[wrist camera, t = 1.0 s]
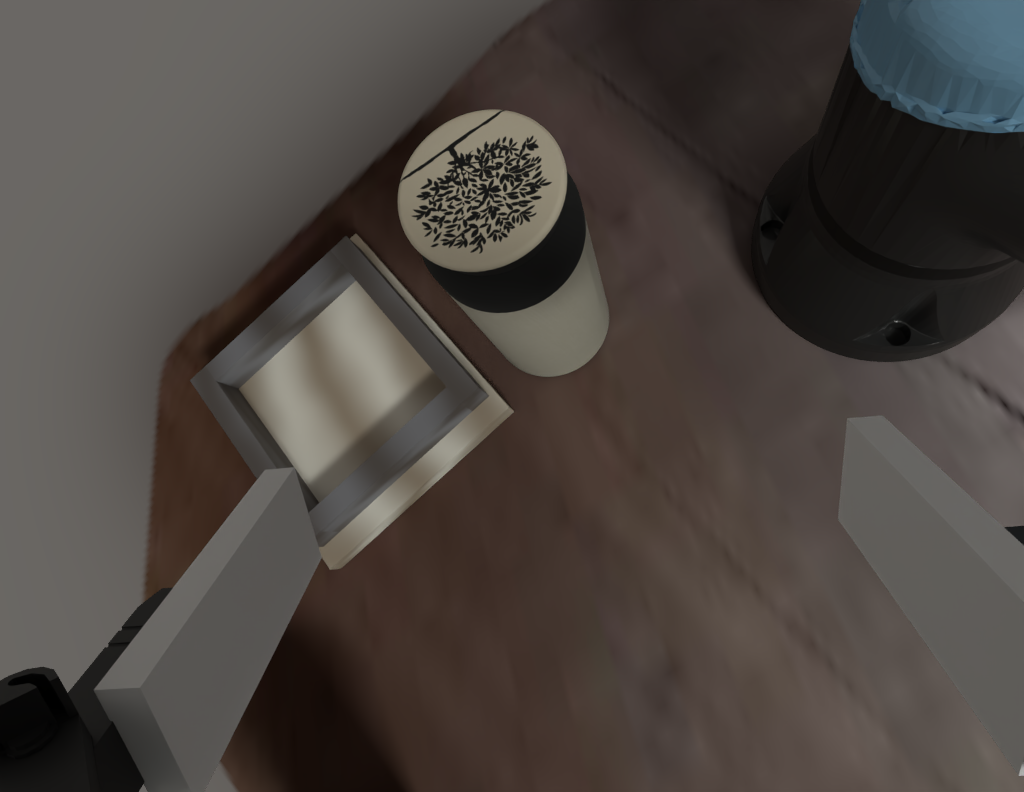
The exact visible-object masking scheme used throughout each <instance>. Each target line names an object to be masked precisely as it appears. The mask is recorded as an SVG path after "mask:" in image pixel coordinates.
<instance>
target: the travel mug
mask: <svg viewBox="0 0 1024 792" xmlns="http://www.w3.org/2000/svg"><path fill="white" fill-rule="evenodd" d="M398 212H399V218H400V221H401V225H402V227H403V230H404V232H405V234H406V236H407V238H408V239H409V241H410V242H411V244H412V245H413V246H414V247H415V248H416V250H417V251H418V252H420V253H421V254H422V257H423V260H424V262H425V264H426V266H427V268H428V270H429V271H430V273H431V274H432V276H433V277H434V278H435V279H436V280H437V281H438V283H439V284H440V285H441V286H442V287H443V288H444V289H445V290H446V292H447V293H448V294H449V295H450V296H451V297H452V298H453V299H454V300H455V302H456V303H457V304H458V305H459V306H460V307H461V308H462V309H463V310H464V312H465V313H466V314H467V315H468V316H469V317H470V318H471V319H472V321H473V322H474V323H475V324H476V325H477V326H478V327H479V328H480V329H481V331H482V332H483V333H484V334H485V335H486V336H487V337H488V338H489V340H490V341H491V342H492V343H493V344H494V345H495V346H496V347H497V348H498V350H499V351H500V352H501V353H502V354H503V355H504V356H505V357H506V358H507V360H508V361H509V362H510V363H512V364H513V365H514V366H515V367H517V368H518V369H520V370H522V371H524V372H526V373H529V374H532V375H536V376H544V377H552V376H559V375H564V374H567V373H570V372H572V371H574V370H576V369H578V368H580V367H581V366H583V365H584V364H586V363H587V362H588V361H589V360H590V359H591V358H592V357H593V356H594V355H595V354H596V353H597V351H598V350H599V349H600V347H601V345H602V344H603V342H604V339H605V337H606V334H607V330H608V325H609V309H608V304H607V300H606V296H605V293H604V289H603V285H602V281H601V277H600V273H599V269H598V265H597V261H596V258H595V254H594V250H593V246H592V242H591V238H590V234H589V230H588V226H587V223H586V219H585V215H584V211H583V207H582V203H581V199H580V196H579V192H578V190H577V187H576V185H575V183H574V181H573V179H572V178H571V176H570V175H569V174H568V172H567V171H566V165H565V161H564V157H563V155H562V152H561V150H560V148H559V146H558V144H557V142H556V141H555V139H554V138H553V137H552V136H551V134H550V133H549V132H548V131H547V130H546V129H545V128H544V127H543V126H541V125H540V124H539V123H537V122H536V121H534V120H532V119H531V118H529V117H526V116H524V115H522V114H519V113H516V112H511V111H506V110H481V111H475V112H471V113H467V114H464V115H461V116H459V117H456V118H454V119H452V120H450V121H448V122H446V123H445V124H443V125H442V126H440V127H438V128H437V129H436V130H435V131H433V132H432V133H431V134H430V135H429V136H427V137H426V138H425V139H424V140H423V141H422V143H421V144H420V145H419V146H418V147H417V149H416V150H415V151H414V153H413V154H412V156H411V157H410V159H409V161H408V163H407V165H406V167H405V169H404V171H403V174H402V177H401V180H400V185H399V190H398Z"/></svg>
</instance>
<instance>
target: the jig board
mask: <svg viewBox="0 0 1024 792" xmlns="http://www.w3.org/2000/svg"><path fill="white" fill-rule="evenodd" d="M190 381H191V383H192V384H193V385H194V387H195V388H196V390H197V391H198V393H199V394H200V396H201V397H202V399H203V400H204V402H205V403H206V405H207V406H208V408H209V409H210V410H211V412H212V413H213V415H214V416H215V418H216V419H217V421H218V422H219V424H220V425H221V427H222V428H223V430H224V431H225V433H226V434H227V435H228V437H229V438H230V440H231V441H232V443H233V444H234V446H235V447H236V449H237V450H238V452H239V453H240V455H241V456H242V458H243V459H244V461H245V462H246V463H247V465H248V466H249V468H250V469H251V471H252V472H253V474H254V475H255V477H256V478H257V479H258V478H259V477H260V476H261V474H262V473H263V472H264V470H268V469H279V468H291V467H295V470H296V474H297V477H298V480H299V484H300V487H301V490H302V494H303V497H304V500H305V503H306V507H307V510H308V513H309V517H310V520H311V523H312V527H313V530H314V533H315V537H316V540H317V543H318V546H319V550H320V553H321V556H322V558H323V560H324V561H325V563H326V564H327V565H328V567H329V568H330V569H341V568H342V567H343V566H344V565H346V564H347V563H348V562H349V561H350V560H351V559H352V558H353V557H354V556H356V555H357V554H358V553H359V552H360V551H361V550H362V549H363V548H364V547H365V546H367V545H368V544H369V543H370V542H371V541H372V540H373V539H374V538H375V537H376V536H378V535H379V534H380V533H381V532H382V531H383V530H384V529H385V528H386V527H388V526H389V525H390V524H391V523H392V522H393V521H394V520H395V519H396V518H397V517H399V516H400V515H401V514H402V513H403V512H404V511H405V510H406V509H407V508H408V507H410V506H411V505H412V504H413V503H414V502H415V501H416V500H417V499H418V498H419V497H421V496H422V495H423V494H424V493H425V492H426V491H427V490H428V489H429V488H431V487H432V486H433V485H434V484H435V483H436V482H437V481H438V480H439V479H440V478H442V477H443V476H444V475H445V474H446V473H447V472H448V471H449V470H450V469H451V468H453V467H454V466H455V465H456V464H457V463H458V462H459V461H460V460H461V459H463V458H464V457H465V456H466V455H467V454H468V453H469V452H470V451H471V450H472V449H474V448H475V447H476V446H477V445H478V444H479V443H480V442H481V441H482V440H483V439H485V438H486V437H487V436H488V435H489V434H490V433H491V432H492V431H493V430H494V429H496V428H497V427H498V426H499V425H500V424H501V423H502V422H503V421H504V420H506V419H507V418H508V417H509V416H510V415H511V414H512V413H513V412H514V411H513V409H512V408H511V407H510V406H509V405H508V404H507V403H506V402H505V400H504V399H503V398H502V397H501V396H500V395H499V394H498V392H497V391H496V390H495V389H494V388H493V387H492V386H491V385H490V383H489V382H488V381H487V380H486V379H485V378H484V377H483V375H482V374H481V373H480V372H479V371H478V370H477V369H476V368H475V366H474V365H473V364H472V363H471V362H470V361H469V360H468V358H467V357H466V356H465V355H464V354H463V353H462V352H461V350H460V349H459V348H458V347H457V346H456V345H455V344H454V343H453V341H452V340H451V339H450V338H449V337H448V336H447V335H446V333H445V332H444V331H443V330H442V329H441V328H440V327H439V326H438V324H437V323H436V322H435V321H434V320H433V319H432V318H431V316H430V315H429V314H428V313H427V312H426V311H425V310H424V309H423V307H422V306H421V305H420V304H419V303H418V302H417V301H416V299H415V298H414V297H413V296H412V295H411V294H410V293H409V292H408V290H407V289H406V288H405V287H404V286H403V285H402V284H401V282H400V281H399V280H398V279H397V278H396V277H395V276H394V275H393V273H392V272H391V271H390V270H389V269H388V268H387V267H386V265H385V264H384V263H383V262H382V261H381V260H380V259H379V258H378V256H377V255H376V254H375V253H374V252H373V251H372V250H371V248H370V247H369V246H368V245H367V244H366V243H365V242H364V241H363V240H362V239H361V238H360V237H359V236H358V235H357V234H355V235H353V236H352V237H351V238H350V239H349V238H348V237H347V236H345V237H344V238H343V239H342V240H341V241H340V242H339V243H338V244H337V245H335V246H334V247H333V248H332V249H331V250H330V251H329V252H328V253H327V254H326V255H325V256H324V257H323V258H321V259H320V260H319V261H318V262H317V263H316V264H315V265H314V266H313V267H312V268H311V269H310V270H309V271H307V272H306V273H305V274H304V275H303V276H302V277H301V278H300V279H299V280H298V281H297V282H296V283H294V284H293V285H292V286H291V287H290V288H289V289H288V290H287V291H286V292H285V293H284V294H283V295H282V296H280V297H279V298H278V299H277V300H276V301H275V302H274V303H273V304H272V305H271V306H270V307H269V308H268V309H266V310H265V311H264V312H263V313H262V314H261V315H260V316H259V317H258V318H257V319H256V320H255V321H254V322H252V323H251V324H250V325H249V326H248V327H247V328H246V329H245V330H244V331H243V332H242V333H241V334H240V335H238V336H237V337H236V338H235V339H234V340H233V341H232V342H231V343H230V344H229V345H228V346H227V347H226V348H224V349H223V350H222V351H221V352H220V353H219V354H218V355H217V356H216V357H215V358H214V359H213V360H212V361H210V362H209V363H208V364H207V365H206V366H205V367H204V368H203V369H202V370H201V371H200V372H199V373H197V374H196V375H195V376H194V377H193V378H192V379H191V380H190Z"/></svg>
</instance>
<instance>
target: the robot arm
mask: <svg viewBox="0 0 1024 792" xmlns="http://www.w3.org/2000/svg"><path fill="white" fill-rule="evenodd" d="M751 252H752V262H753V268H754V272H755V276H756V279H757V282H758V285H759V287H760V289H761V291H762V293H763V295H764V297H765V299H766V300H767V302H768V304H769V305H770V307H771V308H772V309H773V310H774V312H775V313H776V314H777V315H778V316H779V318H780V319H781V320H782V321H783V322H784V323H785V324H786V325H787V326H788V327H790V328H791V329H792V330H793V331H795V332H796V333H797V334H799V335H800V336H801V337H803V338H804V339H806V340H808V341H809V342H811V343H813V344H815V345H817V346H819V347H821V348H823V349H825V350H828V351H830V352H833V353H836V354H839V355H842V356H846V357H849V358H854V359H859V360H866V361H877V362H895V361H906V360H913V359H919V358H923V357H927V356H931V355H934V354H937V353H940V352H942V351H945V350H947V349H950V348H952V347H954V346H956V345H958V344H960V343H961V342H963V341H965V340H966V339H968V338H970V337H971V336H973V335H974V334H975V333H977V332H978V331H980V330H981V329H983V328H984V327H986V326H987V325H989V324H990V323H991V322H993V321H994V320H995V319H996V318H997V317H999V316H1000V315H1001V314H1002V313H1003V312H1004V311H1005V310H1006V309H1007V308H1008V307H1009V305H1010V304H1011V303H1012V302H1013V301H1014V300H1015V298H1016V297H1017V296H1018V294H1019V293H1020V292H1021V290H1022V289H1023V287H1024V0H861V2H860V6H859V10H858V12H857V14H856V16H855V19H854V21H853V28H852V32H851V37H850V44H849V47H848V50H847V53H846V55H845V58H844V61H843V64H842V67H841V69H840V72H839V75H838V78H837V81H836V83H835V86H834V89H833V92H832V94H831V97H830V100H829V103H828V106H827V108H826V111H825V114H824V117H823V119H822V122H821V125H820V128H819V131H818V133H817V134H816V135H815V136H813V137H812V138H811V139H810V140H809V141H808V142H807V143H806V144H804V145H803V146H802V147H801V148H800V149H799V150H798V151H796V152H795V153H794V154H793V155H792V156H791V157H790V158H789V159H788V160H787V161H786V162H785V163H784V165H783V166H782V167H781V168H780V169H779V171H778V172H777V173H776V175H775V176H774V178H773V180H772V181H771V183H770V184H769V186H768V188H767V190H766V192H765V194H764V196H763V198H762V201H761V204H760V207H759V210H758V214H757V217H756V221H755V225H754V229H753V234H752V245H751ZM838 520H839V521H840V523H841V524H842V526H843V527H844V528H845V530H846V531H847V533H848V534H849V536H850V537H851V538H852V540H853V541H854V543H855V544H856V545H857V547H858V548H859V550H860V551H861V553H862V554H863V555H864V557H865V558H866V560H867V561H868V563H869V564H870V565H871V567H872V568H873V570H874V571H875V572H876V574H877V575H878V577H879V578H880V580H881V581H882V582H883V584H884V585H885V587H886V588H887V589H888V591H889V592H890V594H891V595H892V597H893V598H894V599H895V601H896V602H897V604H898V605H899V607H900V608H901V609H902V611H903V612H904V614H905V615H906V616H907V618H908V619H909V621H910V622H911V624H912V625H913V626H914V628H915V629H916V631H917V632H918V633H919V635H920V636H921V638H922V639H923V641H924V642H925V643H926V645H927V646H928V648H929V649H930V651H931V652H932V653H933V655H934V656H935V658H936V659H937V660H938V662H939V663H940V665H941V666H942V668H943V669H944V670H945V672H946V673H947V675H948V676H949V677H950V679H951V680H952V682H953V683H954V685H955V686H956V687H957V689H958V690H959V692H960V693H961V695H962V696H963V697H964V699H965V700H966V702H967V703H968V704H969V706H970V707H971V709H972V710H973V712H974V713H975V714H976V716H977V717H978V719H979V720H980V721H981V723H982V724H983V726H984V727H985V729H986V730H987V731H988V733H989V734H990V736H991V737H992V739H993V740H994V741H995V743H996V744H997V746H998V747H999V748H1000V750H1001V751H1002V753H1003V754H1004V756H1005V757H1006V758H1007V760H1008V761H1009V763H1010V764H1011V766H1012V767H1013V768H1014V770H1015V771H1016V773H1017V774H1018V775H1019V776H1024V526H1015V527H1003V526H1002V525H1001V524H1000V523H999V522H998V521H997V520H995V519H994V518H993V517H992V516H991V515H990V514H989V513H988V512H987V511H986V510H985V509H984V508H982V507H981V506H980V505H979V504H978V503H977V502H976V501H975V500H974V499H973V498H972V497H970V496H969V495H968V494H967V493H966V492H965V491H964V490H963V489H962V488H961V487H960V486H959V485H957V484H956V483H955V482H954V481H953V480H952V479H951V478H950V477H949V476H948V475H947V474H946V473H944V472H943V471H942V470H941V469H940V468H939V467H938V466H937V465H936V464H935V463H934V462H933V461H931V460H930V459H929V458H928V457H927V456H926V455H925V454H924V453H923V452H922V451H921V450H919V449H918V448H917V447H916V446H915V445H914V444H913V443H912V442H911V441H910V440H909V439H908V438H906V437H905V436H904V435H903V434H902V433H901V432H900V431H899V430H898V429H897V428H896V427H895V426H893V425H892V424H891V423H890V422H889V421H888V420H887V419H886V418H885V417H884V416H883V415H881V416H869V417H858V418H847V426H846V437H845V448H844V459H843V470H842V481H841V492H840V502H839V513H838ZM321 558H322V556H321V553H320V550H319V546H318V543H317V540H316V537H315V533H314V530H313V527H312V523H311V520H310V517H309V513H308V510H307V507H306V503H305V500H304V497H303V494H302V490H301V487H300V484H299V480H298V477H297V474H296V470H295V467H291V468H279V469H268V470H264V472H263V473H262V474H261V476H260V477H259V478H258V479H257V481H256V482H255V483H254V485H253V486H252V487H251V488H250V490H249V491H248V492H247V494H246V495H245V496H244V497H243V499H242V500H241V501H240V503H239V504H238V505H237V506H236V508H235V509H234V510H233V512H232V513H231V514H230V515H229V517H228V518H227V519H226V521H225V522H224V523H223V524H222V526H221V527H220V528H219V530H218V531H217V532H216V533H215V535H214V536H213V537H212V539H211V540H210V541H209V542H208V544H207V545H206V546H205V548H204V549H203V550H202V551H201V553H200V554H199V555H198V557H197V558H196V559H195V560H194V562H193V563H192V564H191V566H190V567H189V568H188V569H187V571H186V572H185V573H184V575H183V576H182V577H181V578H180V580H179V581H178V582H177V584H176V585H175V586H174V587H173V588H163V589H161V590H159V591H158V592H157V593H156V594H154V595H153V596H152V597H150V598H149V599H148V600H146V601H145V602H144V603H143V604H141V605H140V606H139V607H138V608H137V609H136V610H135V611H134V613H133V614H132V615H131V616H130V618H129V619H128V620H127V621H126V622H125V624H124V625H123V626H122V630H121V631H118V632H117V633H116V635H115V636H114V637H113V638H112V640H111V641H110V642H109V643H108V644H109V646H108V647H107V648H104V649H103V651H102V652H101V653H100V654H99V655H98V657H97V658H96V659H95V660H94V662H93V663H92V664H91V665H90V667H89V668H88V669H87V670H86V671H85V673H84V674H83V675H82V676H81V678H80V679H79V680H78V681H77V683H76V684H75V685H74V686H73V688H72V689H71V690H70V691H69V692H68V693H67V691H66V689H65V688H64V686H63V684H62V682H61V681H60V679H59V677H58V676H57V674H56V672H55V671H54V669H49V668H45V667H39V668H32V669H26V670H23V671H21V672H18V673H15V674H13V675H10V676H8V677H6V678H4V679H2V680H1V681H0V792H139V790H140V788H141V787H142V785H143V784H144V786H145V787H146V789H147V791H148V792H204V791H205V789H206V787H207V785H208V783H209V781H210V779H211V777H212V775H213V773H214V771H215V769H216V767H217V765H218V763H219V762H220V760H221V758H222V756H223V754H224V752H225V750H226V748H227V746H228V744H229V742H230V740H231V738H232V736H233V734H234V732H235V730H236V728H237V726H238V724H239V722H240V720H241V718H242V716H243V714H244V712H245V710H246V708H247V706H248V704H249V702H250V700H251V698H252V696H253V694H254V692H255V690H256V688H257V686H258V684H259V682H260V680H261V678H262V676H263V674H264V672H265V670H266V668H267V666H268V664H269V662H270V660H271V658H272V656H273V654H274V652H275V650H276V648H277V646H278V644H279V642H280V640H281V638H282V636H283V634H284V632H285V630H286V628H287V626H288V624H289V622H290V620H291V618H292V616H293V614H294V612H295V610H296V608H297V606H298V604H299V602H300V600H301V598H302V596H303V594H304V592H305V590H306V588H307V586H308V584H309V582H310V580H311V578H312V576H313V574H314V572H315V570H316V568H317V566H318V564H319V562H320V560H321Z"/></svg>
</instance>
